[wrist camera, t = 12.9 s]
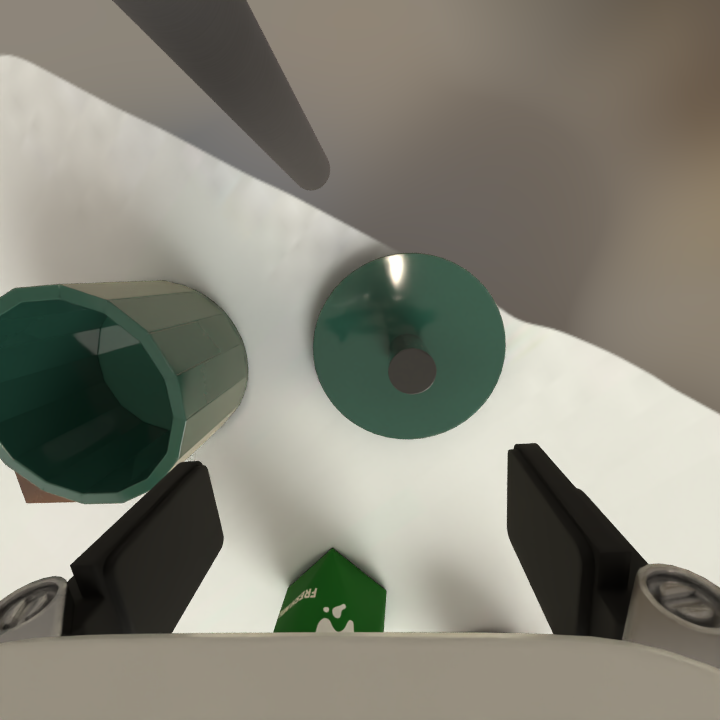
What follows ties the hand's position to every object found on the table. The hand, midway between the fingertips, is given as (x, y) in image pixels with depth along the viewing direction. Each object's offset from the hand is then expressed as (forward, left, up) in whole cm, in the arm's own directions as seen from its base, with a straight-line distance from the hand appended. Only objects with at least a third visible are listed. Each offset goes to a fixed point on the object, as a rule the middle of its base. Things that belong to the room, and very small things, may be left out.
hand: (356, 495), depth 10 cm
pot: (0, -17, -18) cm, 25 cm away
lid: (0, +3, -17) cm, 17 cm away
